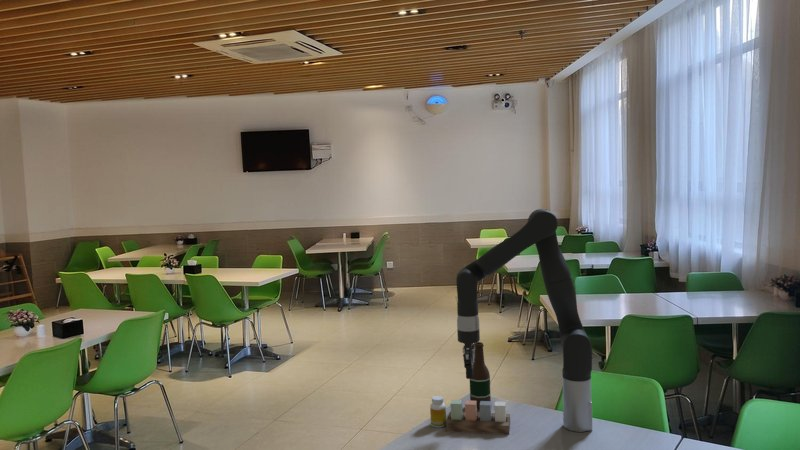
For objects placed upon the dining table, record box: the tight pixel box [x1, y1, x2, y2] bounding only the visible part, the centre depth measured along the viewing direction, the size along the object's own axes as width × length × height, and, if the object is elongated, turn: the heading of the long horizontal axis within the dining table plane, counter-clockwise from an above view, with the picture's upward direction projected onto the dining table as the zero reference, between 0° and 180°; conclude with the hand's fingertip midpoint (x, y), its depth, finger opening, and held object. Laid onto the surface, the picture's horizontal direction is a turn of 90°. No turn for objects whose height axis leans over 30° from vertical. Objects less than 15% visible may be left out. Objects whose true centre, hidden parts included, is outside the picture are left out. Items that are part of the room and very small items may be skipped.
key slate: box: [479, 401, 492, 421], centre depth 209 cm, size 4×4×6 cm
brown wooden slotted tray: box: [445, 410, 511, 435], centre depth 210 cm, size 21×10×3 cm, turn 78°
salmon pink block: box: [464, 399, 478, 421], centre depth 211 cm, size 4×4×6 cm
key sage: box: [450, 399, 464, 420], centre depth 212 cm, size 4×4×6 cm
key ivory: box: [494, 401, 507, 422], centre depth 208 cm, size 4×4×6 cm
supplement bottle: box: [429, 395, 447, 429], centre depth 213 cm, size 5×5×10 cm
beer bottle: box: [469, 341, 492, 410], centre depth 228 cm, size 8×8×24 cm
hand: (469, 376), depth 210 cm, fingers open, 2 cm apart
